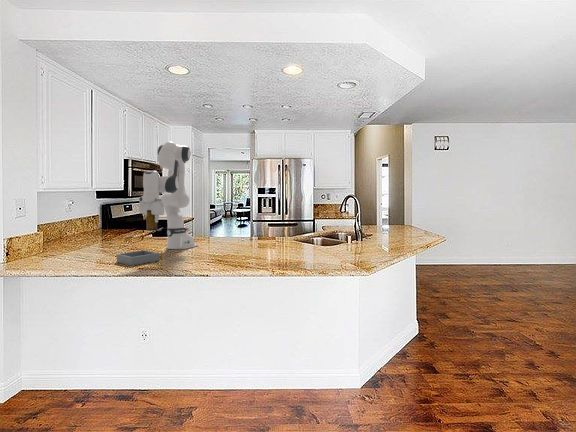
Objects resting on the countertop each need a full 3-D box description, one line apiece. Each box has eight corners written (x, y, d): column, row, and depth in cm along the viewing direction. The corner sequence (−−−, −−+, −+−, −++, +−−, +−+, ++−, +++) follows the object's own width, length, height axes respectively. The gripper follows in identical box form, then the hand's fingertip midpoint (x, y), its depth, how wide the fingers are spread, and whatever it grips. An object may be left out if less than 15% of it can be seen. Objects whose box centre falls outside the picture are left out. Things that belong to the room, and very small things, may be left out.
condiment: (148, 229, 257) (147, 209, 256) (162, 229, 257) (161, 209, 256) (144, 231, 249) (143, 210, 248) (158, 231, 249) (158, 210, 248)
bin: (143, 257, 266) (143, 250, 265) (159, 261, 255) (159, 253, 255) (116, 262, 253) (116, 254, 252) (132, 265, 242) (131, 257, 241)
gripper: (166, 198, 248) (167, 222, 249) (146, 197, 261) (147, 220, 262) (157, 199, 243) (158, 223, 244) (137, 198, 256) (137, 221, 257)
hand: (152, 222), depth 253 cm, fingers closed on condiment, 6 cm apart
